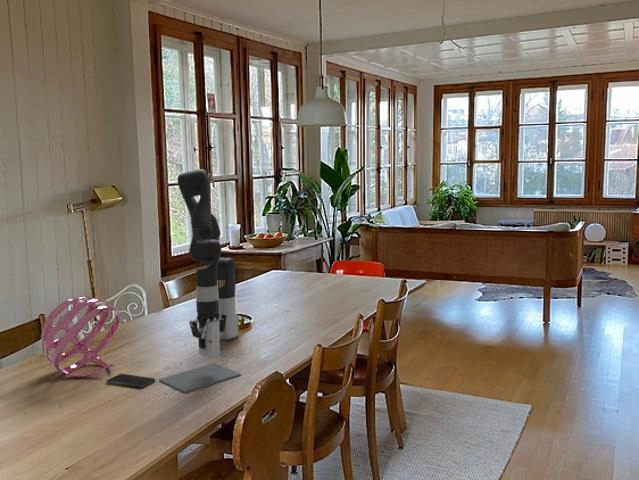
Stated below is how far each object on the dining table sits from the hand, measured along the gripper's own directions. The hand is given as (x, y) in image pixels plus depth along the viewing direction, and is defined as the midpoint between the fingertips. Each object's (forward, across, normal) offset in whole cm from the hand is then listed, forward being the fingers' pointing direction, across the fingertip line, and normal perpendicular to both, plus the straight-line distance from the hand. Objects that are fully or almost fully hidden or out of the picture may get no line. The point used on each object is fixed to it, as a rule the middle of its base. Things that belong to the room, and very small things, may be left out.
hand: (209, 346), depth 209 cm
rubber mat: (+10, +5, +1) cm, 11 cm away
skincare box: (+3, 0, 0) cm, 3 cm away
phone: (+10, +23, -13) cm, 28 cm away
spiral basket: (+10, +29, -36) cm, 47 cm away
